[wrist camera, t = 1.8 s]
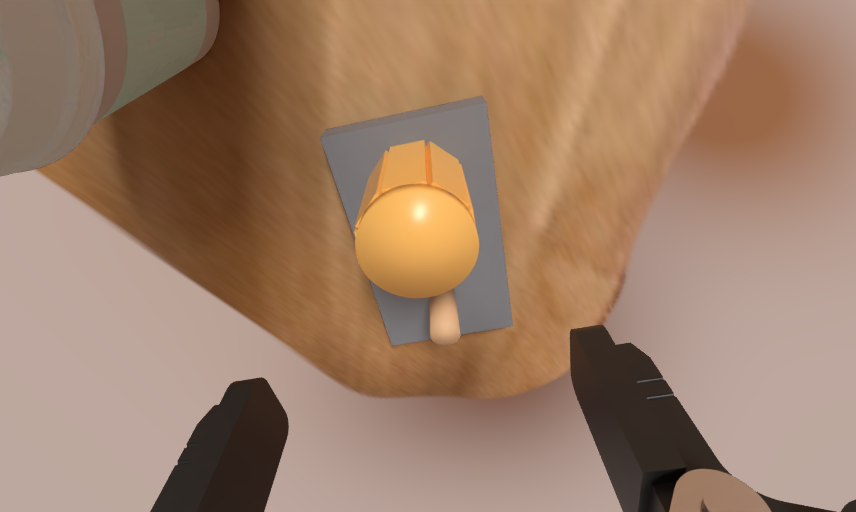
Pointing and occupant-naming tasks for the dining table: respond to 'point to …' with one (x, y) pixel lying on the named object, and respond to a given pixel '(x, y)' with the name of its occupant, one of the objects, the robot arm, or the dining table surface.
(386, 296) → the board
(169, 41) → the coffee cup
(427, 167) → the wire nut
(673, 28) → the dining table surface
